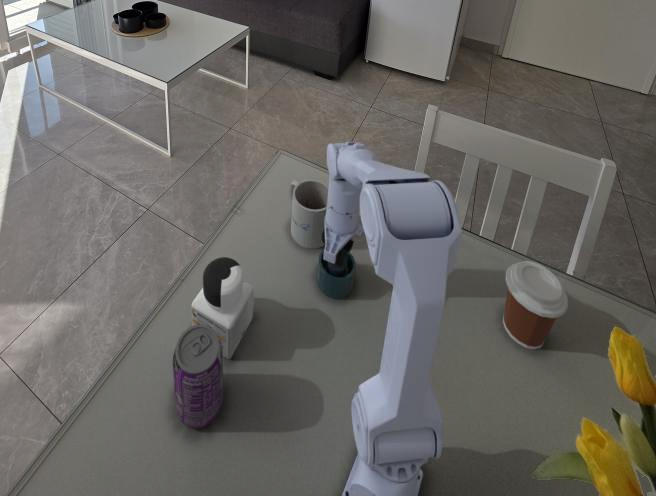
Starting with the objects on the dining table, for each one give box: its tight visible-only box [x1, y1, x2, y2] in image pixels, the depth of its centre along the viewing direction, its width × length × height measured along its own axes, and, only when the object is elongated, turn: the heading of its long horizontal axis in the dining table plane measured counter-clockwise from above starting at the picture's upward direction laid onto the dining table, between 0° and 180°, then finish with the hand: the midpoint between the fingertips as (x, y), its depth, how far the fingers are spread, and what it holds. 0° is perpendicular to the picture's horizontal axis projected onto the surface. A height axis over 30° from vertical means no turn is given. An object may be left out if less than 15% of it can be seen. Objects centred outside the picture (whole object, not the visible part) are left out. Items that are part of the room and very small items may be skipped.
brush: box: [327, 258, 347, 277], centre depth 81 cm, size 4×4×9 cm
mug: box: [289, 179, 329, 250], centre depth 93 cm, size 12×9×10 cm
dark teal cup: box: [316, 247, 357, 300], centre depth 82 cm, size 7×7×5 cm
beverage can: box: [172, 324, 224, 430], centre depth 63 cm, size 7×7×12 cm
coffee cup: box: [502, 260, 569, 350], centre depth 74 cm, size 9×9×12 cm
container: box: [191, 256, 254, 360], centre depth 72 cm, size 8×8×13 cm
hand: (337, 258), depth 81 cm, fingers closed on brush
